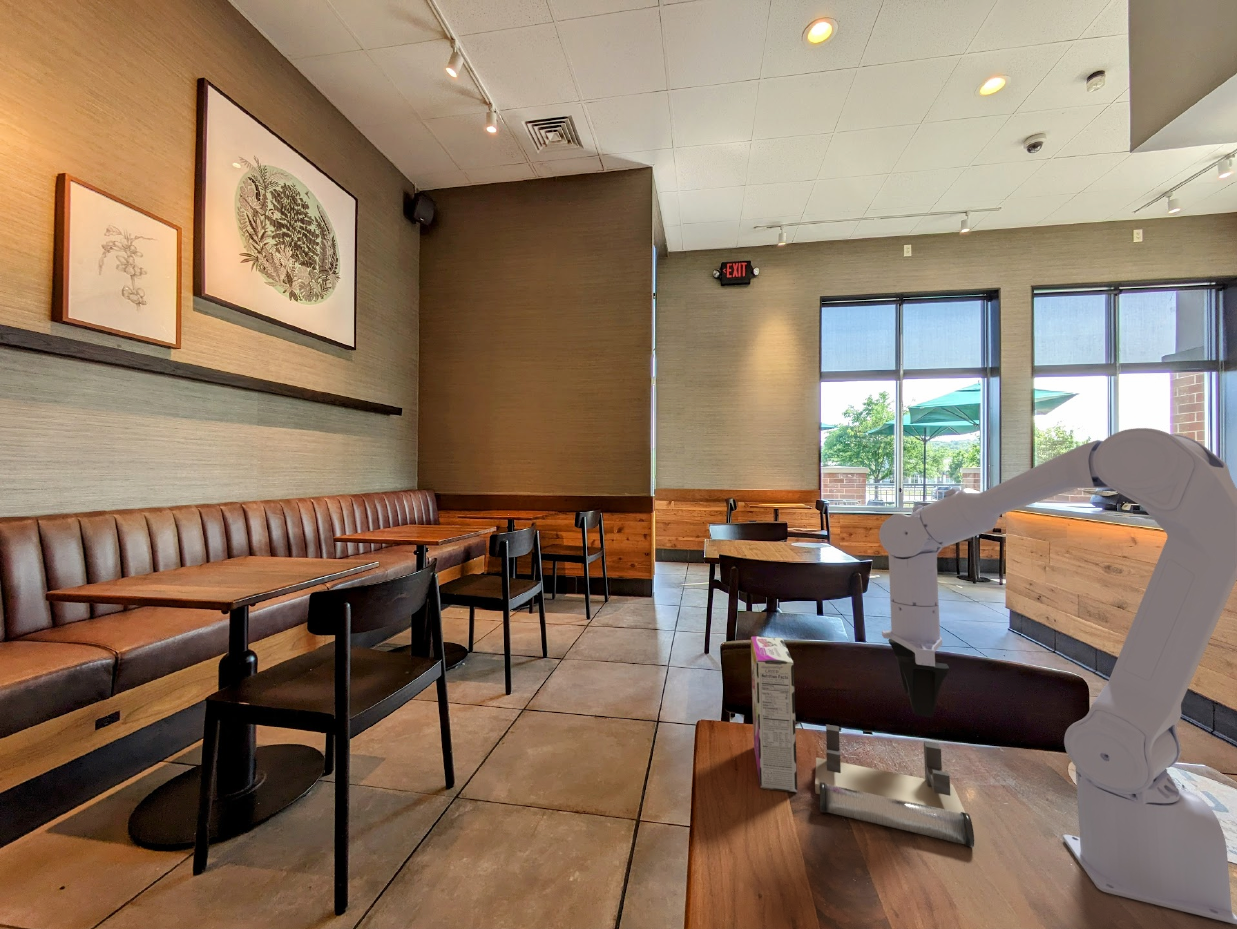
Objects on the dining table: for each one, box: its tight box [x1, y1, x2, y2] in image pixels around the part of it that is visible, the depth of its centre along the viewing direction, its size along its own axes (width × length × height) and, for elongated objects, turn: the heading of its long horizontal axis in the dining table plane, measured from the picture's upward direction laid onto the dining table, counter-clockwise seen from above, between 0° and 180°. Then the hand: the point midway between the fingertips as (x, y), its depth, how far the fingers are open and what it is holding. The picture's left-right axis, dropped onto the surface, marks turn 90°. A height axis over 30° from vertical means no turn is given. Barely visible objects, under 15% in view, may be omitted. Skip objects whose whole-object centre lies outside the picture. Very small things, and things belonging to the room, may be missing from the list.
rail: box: [819, 782, 975, 848], centre depth 55 cm, size 15×3×3 cm, turn 67°
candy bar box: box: [750, 635, 799, 793], centre depth 67 cm, size 11×5×16 cm, turn 168°
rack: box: [814, 724, 966, 813], centre depth 61 cm, size 16×7×6 cm, turn 67°
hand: (918, 703), depth 66 cm, fingers open, 7 cm apart
